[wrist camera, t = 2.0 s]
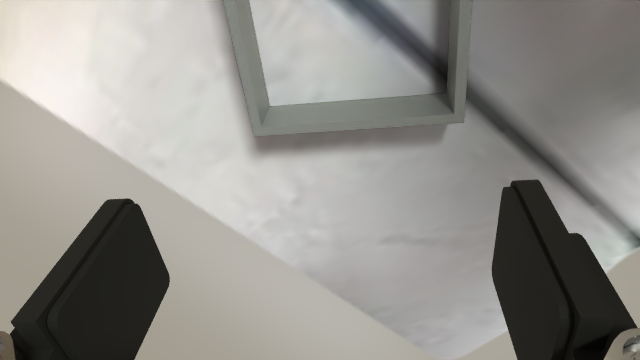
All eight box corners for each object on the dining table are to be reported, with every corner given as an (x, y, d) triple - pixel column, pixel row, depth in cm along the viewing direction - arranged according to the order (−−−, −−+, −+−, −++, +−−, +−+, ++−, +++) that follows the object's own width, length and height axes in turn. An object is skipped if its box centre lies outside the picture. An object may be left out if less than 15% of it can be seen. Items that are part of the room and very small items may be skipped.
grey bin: (468, -141, 26) (481, -142, 23) (455, 101, 34) (464, 122, 31) (217, -105, 28) (199, -102, 25) (262, 115, 36) (253, 136, 33)
